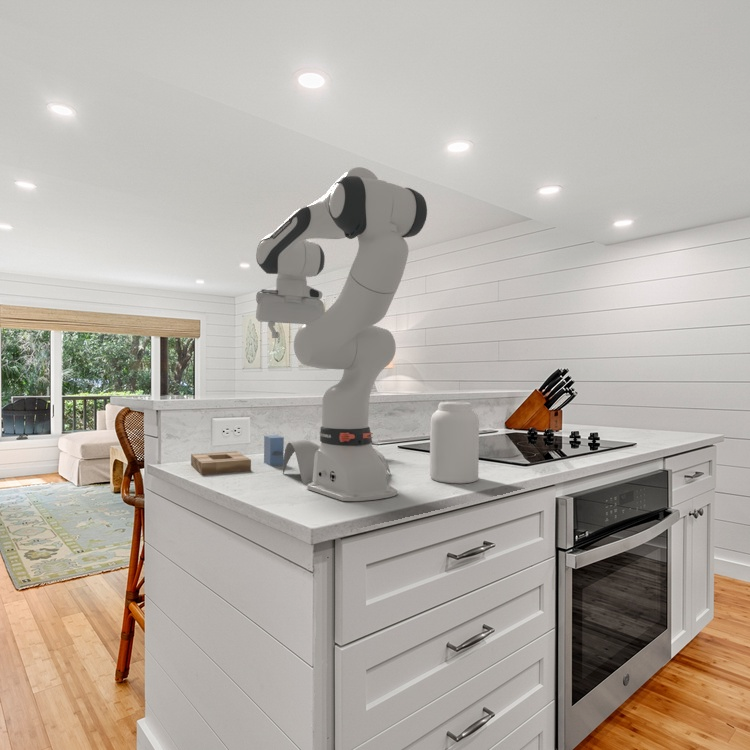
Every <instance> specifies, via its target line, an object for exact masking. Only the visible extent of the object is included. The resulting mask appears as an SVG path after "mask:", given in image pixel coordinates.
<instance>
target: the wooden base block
mask: <svg viewBox="0 0 750 750" xmlns="http://www.w3.org/2000/svg"><path fill="white" fill-rule="evenodd" d="M190 456H191V457H190V465H191V466H192V468H194V469H195V470H196V471H197V472H198V473H199V474H200V475H213V474H214V475H215V474H224V473H225V474H226V473H238V472H251V471H252V459H251V458H249V457H248V456H246V455H243V454H241V452H238V451H235V450H234V451H223V452H220V451H219V452H203V453H192V454H190Z"/></svg>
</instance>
